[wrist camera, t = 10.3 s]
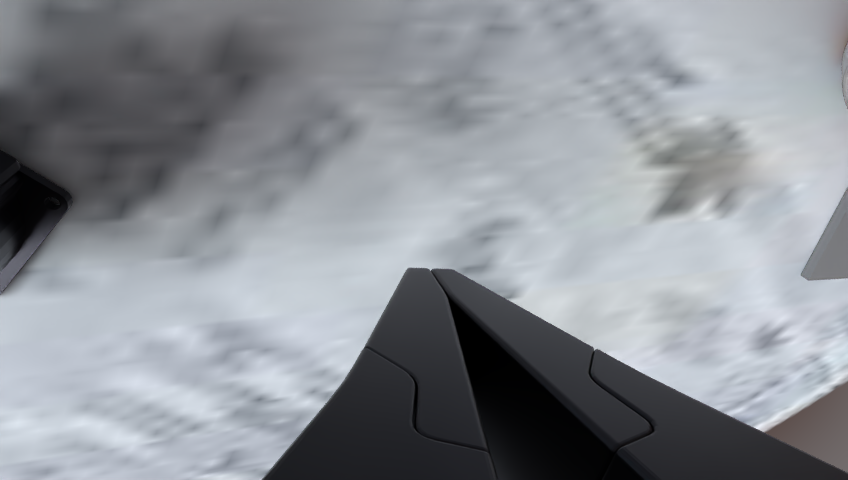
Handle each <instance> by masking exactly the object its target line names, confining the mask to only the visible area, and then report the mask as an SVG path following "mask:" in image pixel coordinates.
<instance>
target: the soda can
mask: <svg viewBox="0 0 848 480" xmlns="http://www.w3.org/2000/svg"><path fill="white" fill-rule="evenodd" d="M842 81H843V82H842V88H843V96H844V100H845V103H846V106H847V108H848V43H847V45H846V47H845V50H844V54H843V58H842Z"/></svg>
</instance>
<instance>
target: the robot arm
mask: <svg viewBox="0 0 848 480" xmlns="http://www.w3.org/2000/svg"><path fill="white" fill-rule="evenodd" d="M49 197H53V198H56V199H57V200H58V201H59V202H60V205H57V204H54V203H52V202H51V201H50V199H49ZM71 205H72V197H71V196H70V194H69V193H68V192H67V191H66V190H64V189H63V188H61V187H60V186H58V185H56V184H54V183H53V182H51V181H49V180H48V179H46V178H44V177H43V176H41V175H39V174H37V173H36V172H34V171H32V170H31V169H29V168H27V167H26V166H24V165H22V164H20V163H19V162H17V160H16V159H15V158H13V157H12V156H10V155H8V154H7V153H5V152H3V151H1V150H0V294H1V293H2V291H3V290H4V289H5V288H6V286H7V285H8V284H9V283H10V282H11V280H12V279H13V278H14V277H15V275H16V274H17V273H18V272H19V270H20V269H21V268H22V267H23V265H24V264H25V263H26V262H27V260H28V259H29V258H30V257H31V255H32V254H33V253H34V252H35V250H36V249H37V248H38V247H39V245H40V244H41V243H42V242H43V240H44V239H45V238H46V237H47V235H48V234H49V233H50V232H51V230H52V229H53V228H54V227H55V225H56V224H57V223H58V222H59V220H60V219H61V218H62V217H63V215H64V214H65V213H66V212H67V210H68V209H69V208H70V207H71ZM262 480H848V473H847V472H845V471H843V470H841V469H839V468H837V467H835V466H833V465H831V464H828V463H826V462H824V461H822V460H820V459H818V458H816V457H814V456H811V455H810V454H807V453H806V452H804V451H801V450H799V449H797V448H795V447H793V446H791V445H789V444H787V443H785V442H783V441H780V440H779V439H776V438H774V437H772V436H770V435H768V434H766V433H764V432H762V431H760V430H758V429H756V428H754V427H751V426H749V425H747V424H745V423H743V422H741V421H739V420H737V419H735V418H733V417H731V416H729V415H726V414H724V413H722V412H720V411H718V410H716V409H714V408H712V407H710V406H708V405H706V404H704V403H701V402H699V401H697V400H695V399H693V398H691V397H689V396H687V395H685V394H683V393H681V392H679V391H677V390H675V389H673V388H671V387H669V386H667V385H665V384H663V383H661V382H659V381H657V380H655V379H653V378H651V377H648V376H647V375H645V374H643V373H641V372H639V371H637V370H635V369H633V368H632V367H630V366H628V365H626V364H624V363H622V362H620V361H618V360H617V359H615V358H613V357H611V356H609V355H608V354H606V353H604V352H602V351H600V350H598V349H596V350H595V351H594V348H593V347H591V346H590V345H588V344H586V343H584V342H582V341H581V340H579V339H577V338H575V337H573V336H572V335H570V334H568V333H566V332H564V331H563V330H561V329H559V328H557V327H555V326H554V325H552V324H550V323H548V322H546V321H545V320H543V319H541V318H539V317H538V316H536V315H534V314H532V313H530V312H529V311H527V310H525V309H523V308H521V307H520V306H518V305H516V304H514V303H512V302H511V301H509V300H507V299H505V298H503V297H502V296H500V295H498V294H496V293H494V292H493V291H491V290H489V289H487V288H485V287H484V286H482V285H480V284H478V283H476V282H475V281H473V280H471V279H469V278H467V277H466V276H464V275H462V274H460V273H458V272H457V271H455V270H452V269H432V270H431V271H430V270H429V269H428V268H408V269H407V270H406V272H405V273H404V275H403V277H402V279H401V281H400V283H399V284H398V286H397V288H396V290H395V292H394V294H393V295H392V297H391V299H390V301H389V303H388V305H387V306H386V308H385V310H384V312H383V314H382V316H381V317H380V319H379V321H378V323H377V325H376V327H375V328H374V330H373V332H372V334H371V336H370V338H369V339H368V341H367V343H366V345H365V347H364V349H363V350H362V351H361V353H360V355H359V357H358V358H357V360H356V362H355V364H354V365H353V367H352V368H351V370H350V372H349V373H348V375H347V376H346V378H345V380H344V381H343V382H342V384H341V385H340V386H339V388H338V389H337V390H336V391H335V393H334V394H333V395H332V397H331V398H330V399H329V401H328V402H327V403H326V404H325V405H324V407H323V408H322V409H321V410H320V411H319V412H318V414H317V415H316V416H315V417H314V418H313V420H312V421H311V422H310V423H309V424H308V425H307V427H306V428H305V429H304V430H303V431H302V433H301V434H300V435H299V436H298V437H297V438H296V440H295V441H294V442H293V443H292V444H291V446H290V447H289V448H288V449H287V450H286V452H285V453H284V454H283V455H282V456H281V457H280V459H279V460H278V461H277V462H276V463H275V465H274V466H273V467H272V468H271V469H270V470H269V472H268V473H267V474H266V475H265V476H264V478H263V479H262Z"/></svg>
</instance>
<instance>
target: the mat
mask: <svg viewBox="0 0 848 480" xmlns="http://www.w3.org/2000/svg"><path fill="white" fill-rule="evenodd" d="M801 276H803V277H804V278H805V279H807V280H825V279H842V278H848V189H847V190H846V192H845V194H844V196H843V198H842V200H841V202H840V203H839V205H838V207H837V209H836V211H835V213H834V215H833V216H832V218H831V220H830V222H829V224H828V226H827V228H826V229H825V231H824V233H823V235H822V237H821V239H820V241H819V242H818V244H817V246H816V248H815V250H814V252H813V254H812V255H811V257H810V259H809V261H808V263H807V265H806V267H805V268H804V270H803V272H802V274H801Z"/></svg>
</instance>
